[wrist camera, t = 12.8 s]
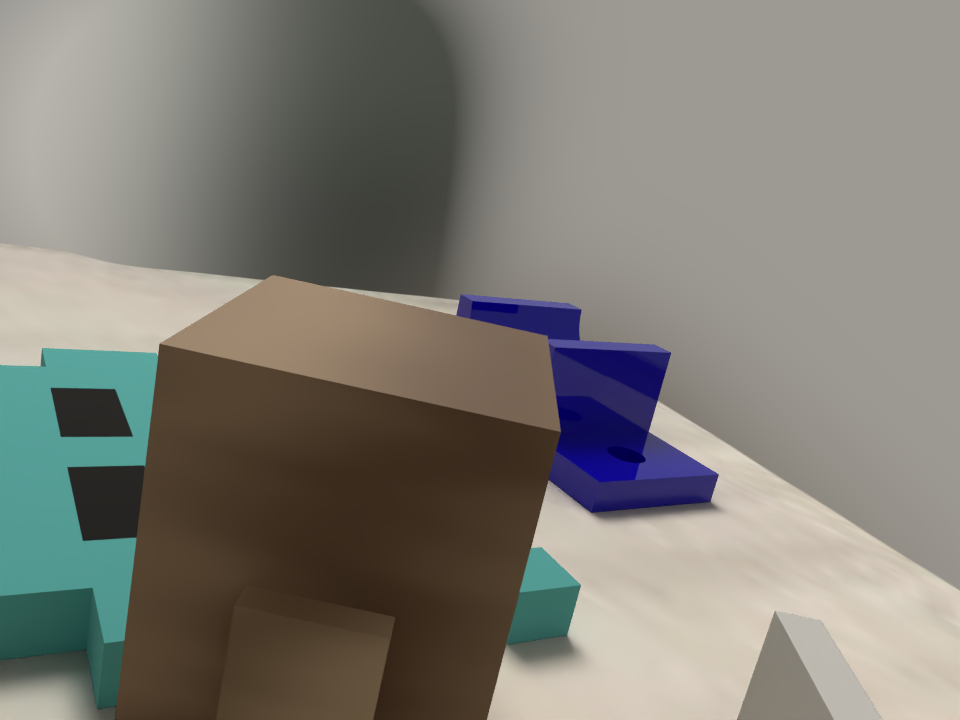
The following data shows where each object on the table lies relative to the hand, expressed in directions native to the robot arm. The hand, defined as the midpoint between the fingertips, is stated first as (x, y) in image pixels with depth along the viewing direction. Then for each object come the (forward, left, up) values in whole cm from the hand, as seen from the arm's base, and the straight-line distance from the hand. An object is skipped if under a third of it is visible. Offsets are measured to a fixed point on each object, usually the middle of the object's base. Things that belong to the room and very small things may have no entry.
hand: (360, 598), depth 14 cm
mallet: (0, +4, -7) cm, 8 cm away
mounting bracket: (+5, +30, -7) cm, 31 cm away
